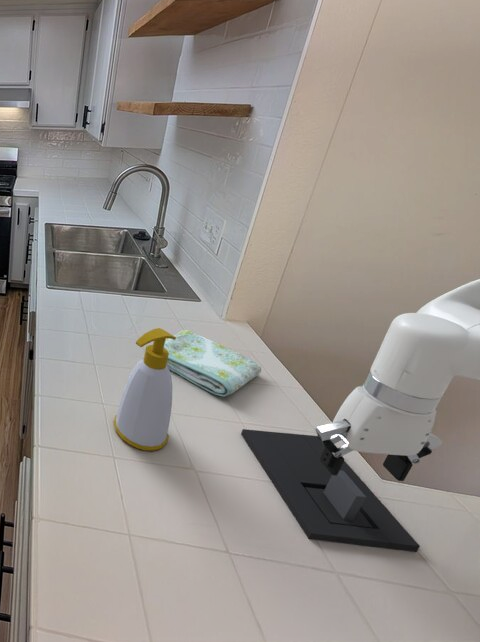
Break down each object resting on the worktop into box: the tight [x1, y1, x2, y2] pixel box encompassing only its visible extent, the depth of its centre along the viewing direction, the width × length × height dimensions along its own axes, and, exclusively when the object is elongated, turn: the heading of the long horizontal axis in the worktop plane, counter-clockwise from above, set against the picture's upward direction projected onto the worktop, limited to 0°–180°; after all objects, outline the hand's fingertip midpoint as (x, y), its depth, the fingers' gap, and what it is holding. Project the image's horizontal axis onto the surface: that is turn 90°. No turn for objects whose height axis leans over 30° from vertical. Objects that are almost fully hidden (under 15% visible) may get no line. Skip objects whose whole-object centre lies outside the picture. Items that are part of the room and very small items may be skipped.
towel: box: [164, 329, 262, 397], centre depth 105 cm, size 18×21×5 cm
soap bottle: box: [113, 327, 176, 452], centre depth 81 cm, size 11×12×26 cm
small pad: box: [305, 470, 373, 528], centre depth 68 cm, size 7×7×7 cm
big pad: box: [240, 428, 421, 553], centre depth 73 cm, size 16×22×2 cm
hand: (359, 470), depth 65 cm, fingers open, 9 cm apart
